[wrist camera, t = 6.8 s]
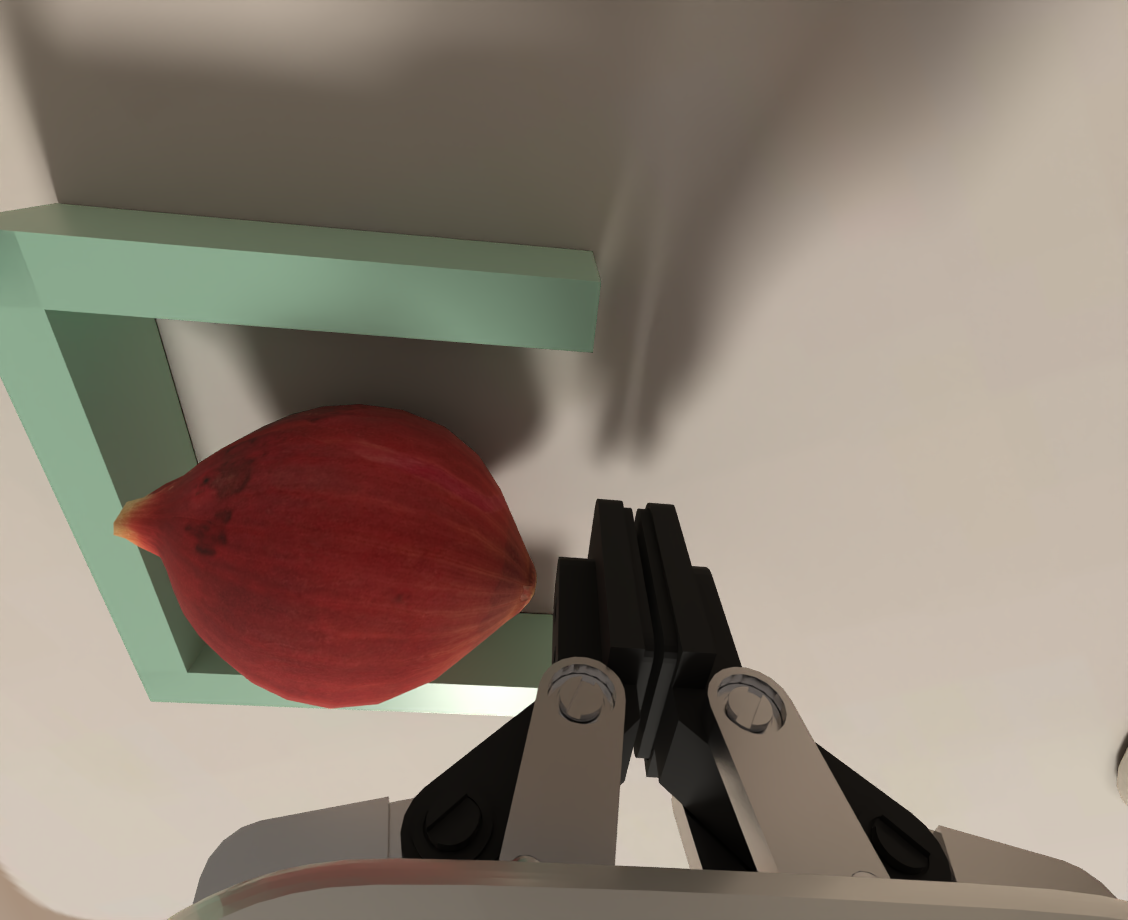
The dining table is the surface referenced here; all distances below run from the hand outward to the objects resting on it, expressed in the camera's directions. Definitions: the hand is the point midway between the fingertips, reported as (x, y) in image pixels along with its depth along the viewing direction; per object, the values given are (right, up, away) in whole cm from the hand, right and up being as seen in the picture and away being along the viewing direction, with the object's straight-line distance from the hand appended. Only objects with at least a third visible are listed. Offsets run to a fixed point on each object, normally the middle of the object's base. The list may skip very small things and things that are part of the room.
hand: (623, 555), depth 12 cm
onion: (-2, -1, 0) cm, 2 cm away
